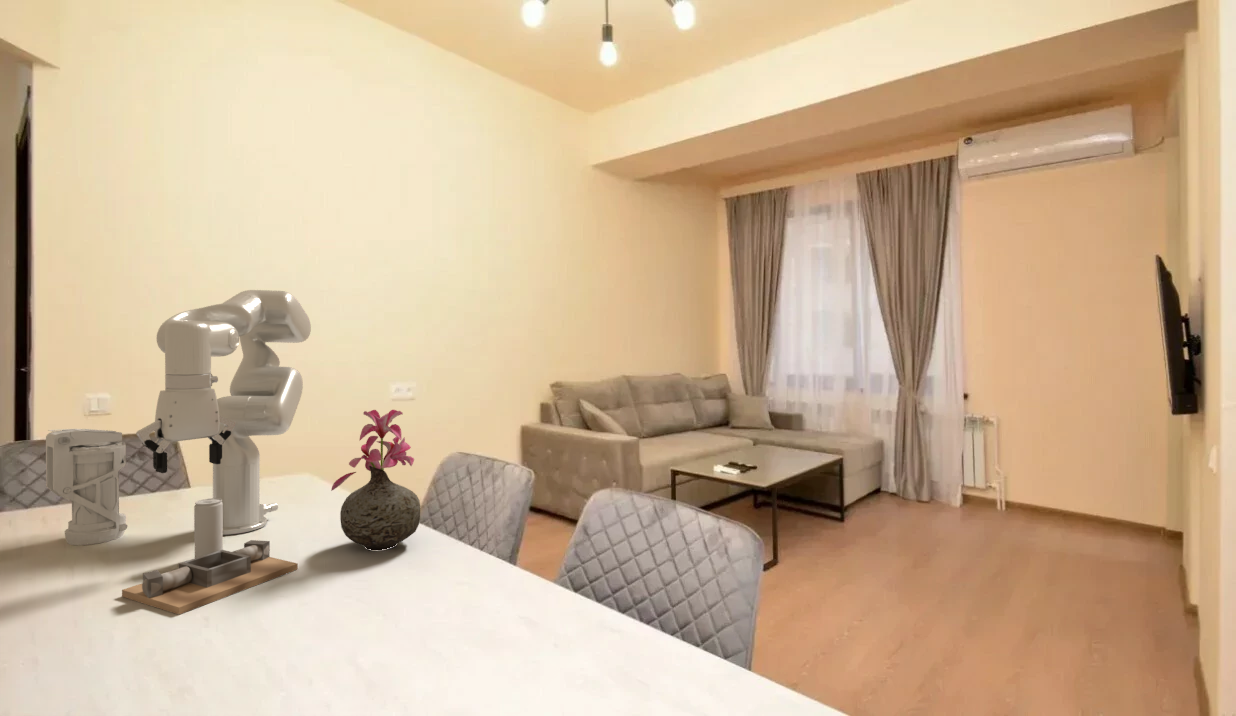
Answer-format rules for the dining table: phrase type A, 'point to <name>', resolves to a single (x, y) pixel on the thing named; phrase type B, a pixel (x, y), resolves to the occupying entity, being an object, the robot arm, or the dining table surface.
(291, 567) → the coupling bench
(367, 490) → the vase
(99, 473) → the lantern
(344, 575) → the dining table surface
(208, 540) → the beverage can
